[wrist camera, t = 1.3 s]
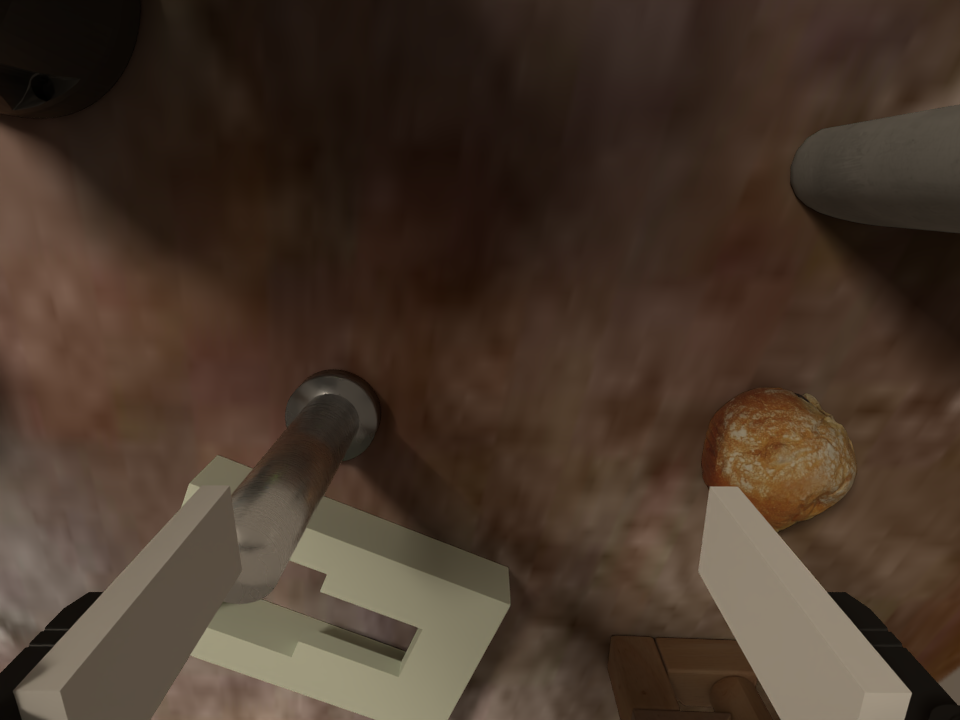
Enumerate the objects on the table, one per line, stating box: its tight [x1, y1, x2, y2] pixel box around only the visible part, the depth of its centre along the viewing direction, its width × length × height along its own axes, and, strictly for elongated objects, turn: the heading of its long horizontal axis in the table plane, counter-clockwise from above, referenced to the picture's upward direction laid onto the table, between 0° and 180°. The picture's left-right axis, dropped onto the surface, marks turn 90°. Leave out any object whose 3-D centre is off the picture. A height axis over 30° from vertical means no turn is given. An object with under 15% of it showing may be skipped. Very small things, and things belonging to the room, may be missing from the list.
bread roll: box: [701, 388, 857, 532], centre depth 40 cm, size 10×10×8 cm
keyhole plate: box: [181, 455, 511, 720], centre depth 44 cm, size 24×14×4 cm, turn 66°
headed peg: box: [223, 369, 381, 604], centre depth 33 cm, size 6×6×18 cm
